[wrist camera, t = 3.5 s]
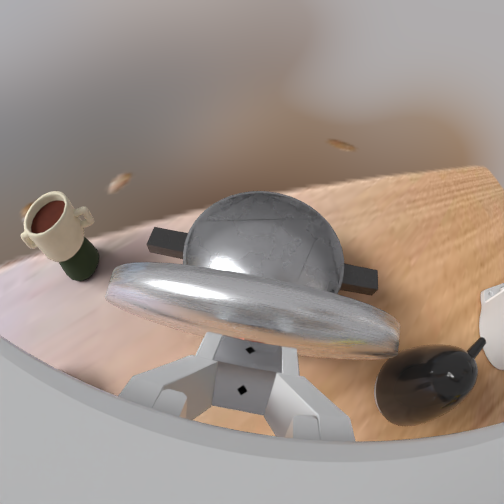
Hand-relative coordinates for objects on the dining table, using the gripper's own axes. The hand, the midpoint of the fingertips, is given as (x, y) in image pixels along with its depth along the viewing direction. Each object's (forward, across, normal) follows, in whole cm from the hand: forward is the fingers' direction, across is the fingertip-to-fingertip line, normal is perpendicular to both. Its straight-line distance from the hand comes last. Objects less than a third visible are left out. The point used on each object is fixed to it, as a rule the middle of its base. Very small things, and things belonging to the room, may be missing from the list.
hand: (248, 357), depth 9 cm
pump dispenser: (+20, -21, +17) cm, 34 cm away
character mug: (+27, +27, +10) cm, 39 cm away
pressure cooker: (+28, 0, +9) cm, 29 cm away
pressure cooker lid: (+7, 0, +2) cm, 7 cm away
